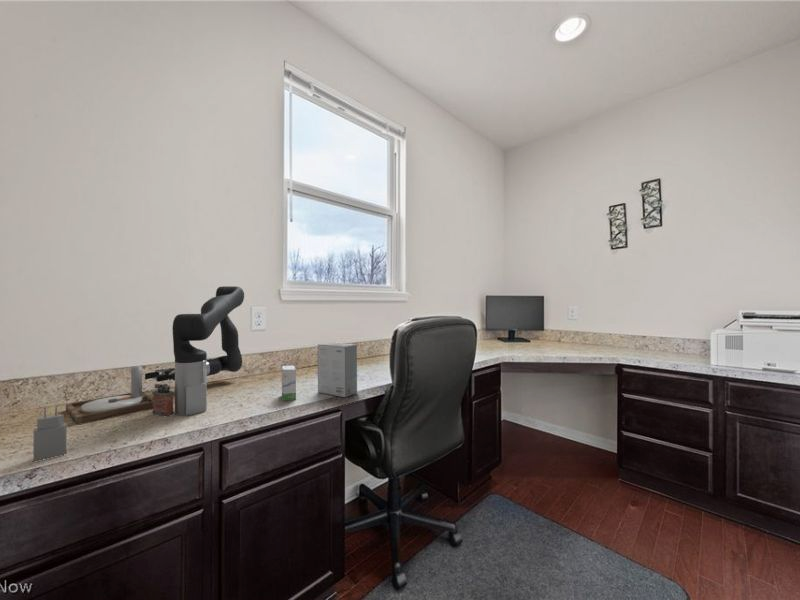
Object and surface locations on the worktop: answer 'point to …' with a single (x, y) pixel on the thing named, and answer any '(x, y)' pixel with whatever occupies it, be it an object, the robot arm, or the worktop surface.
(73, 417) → the wooden tray
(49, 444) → the power adapter
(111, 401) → the cylinder on round base
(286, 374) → the ink box
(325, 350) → the hard drive box
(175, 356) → the robot arm
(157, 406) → the lighter
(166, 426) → the worktop surface
